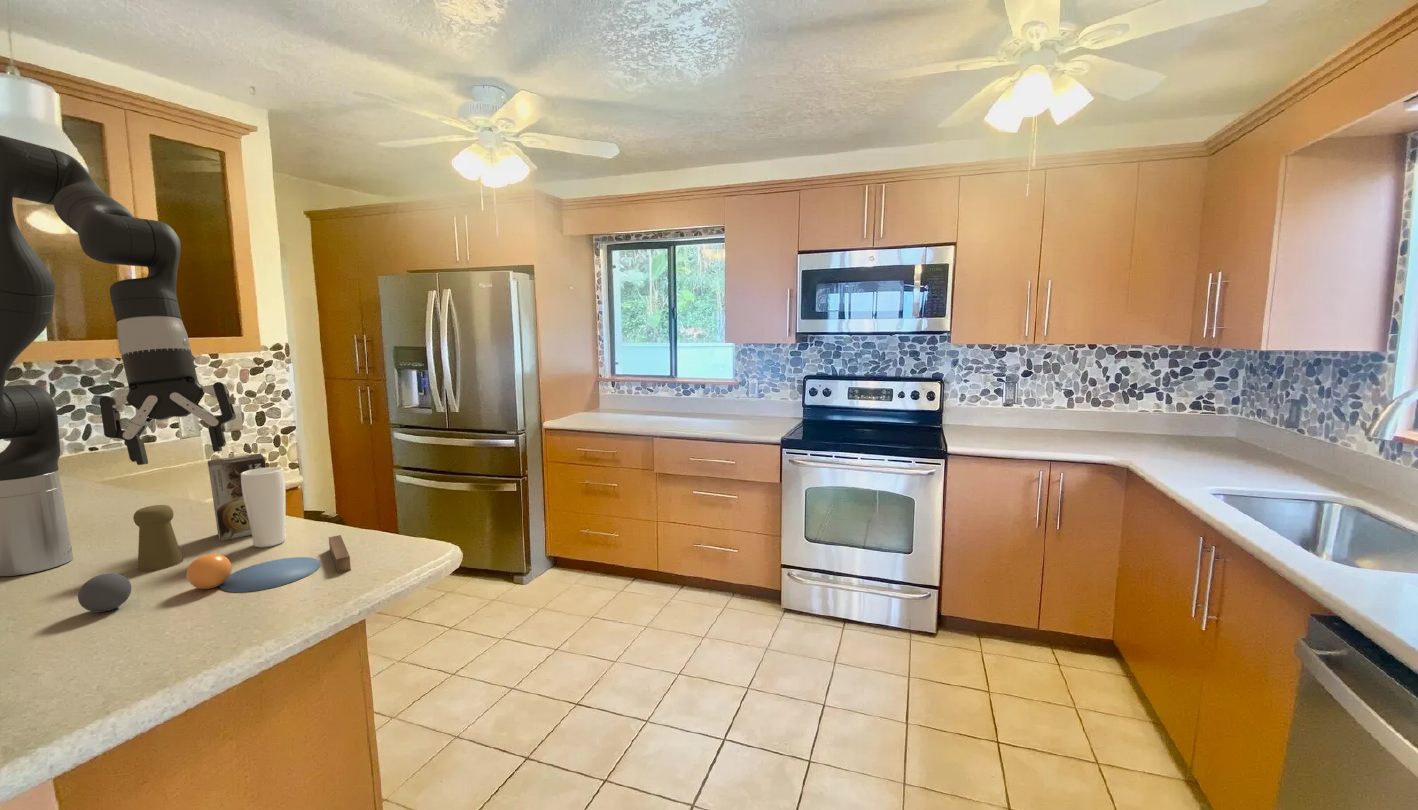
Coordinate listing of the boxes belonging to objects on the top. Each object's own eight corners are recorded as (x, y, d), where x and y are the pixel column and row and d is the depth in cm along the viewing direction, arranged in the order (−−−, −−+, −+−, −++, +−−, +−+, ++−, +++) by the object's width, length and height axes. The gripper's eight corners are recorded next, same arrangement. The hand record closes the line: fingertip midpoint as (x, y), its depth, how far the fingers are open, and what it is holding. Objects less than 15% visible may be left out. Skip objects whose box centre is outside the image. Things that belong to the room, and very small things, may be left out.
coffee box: (270, 523, 126) (262, 452, 124) (274, 530, 121) (266, 457, 119) (216, 534, 120) (206, 459, 118) (219, 541, 115) (209, 464, 113)
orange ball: (187, 598, 90) (182, 564, 89) (190, 586, 94) (186, 554, 94) (233, 588, 93) (228, 555, 93) (234, 577, 98) (230, 546, 97)
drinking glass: (298, 540, 115) (290, 468, 113) (261, 551, 109) (252, 476, 107) (279, 535, 118) (271, 465, 116) (241, 546, 112) (232, 473, 110)
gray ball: (76, 622, 83) (70, 586, 82) (85, 608, 87) (80, 574, 86) (130, 610, 86) (125, 575, 85) (136, 597, 90) (131, 564, 90)
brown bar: (337, 572, 99) (336, 559, 99) (329, 549, 110) (328, 537, 110) (350, 569, 100) (349, 556, 100) (341, 547, 111) (340, 535, 111)
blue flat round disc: (217, 600, 89) (217, 599, 89) (221, 572, 100) (221, 570, 100) (323, 576, 98) (323, 574, 98) (317, 552, 109) (317, 551, 109)
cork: (154, 572, 100) (146, 512, 99) (128, 570, 101) (119, 510, 100) (191, 559, 106) (184, 502, 105) (166, 557, 107) (158, 500, 106)
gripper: (223, 348, 91) (245, 447, 91) (100, 361, 84) (125, 468, 84) (212, 341, 84) (236, 447, 85) (78, 354, 77) (105, 470, 78)
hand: (181, 457), depth 85 cm, fingers open, 8 cm apart
